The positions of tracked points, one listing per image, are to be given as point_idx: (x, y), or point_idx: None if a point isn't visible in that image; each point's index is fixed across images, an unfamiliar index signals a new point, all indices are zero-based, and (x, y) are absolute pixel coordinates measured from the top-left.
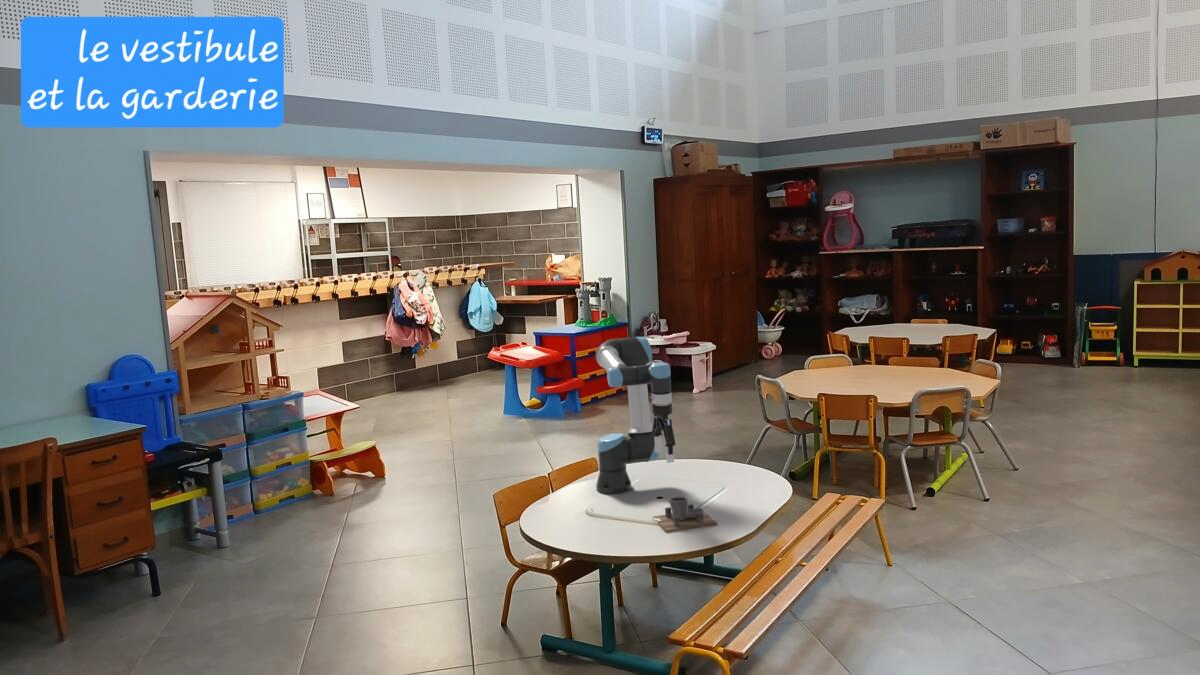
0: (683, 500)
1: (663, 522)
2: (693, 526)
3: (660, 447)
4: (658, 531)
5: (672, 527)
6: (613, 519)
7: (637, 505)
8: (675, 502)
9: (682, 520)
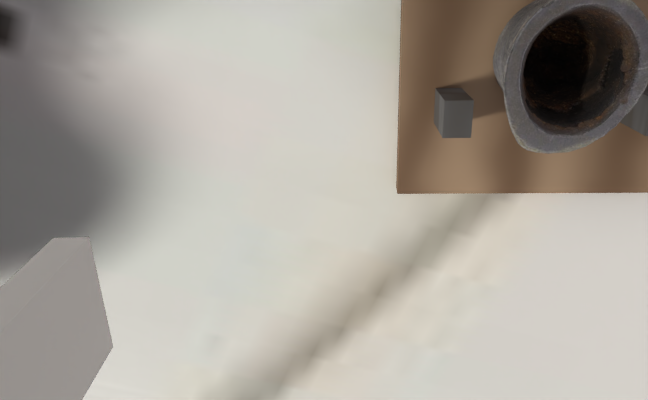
0: (644, 45)
1: (531, 166)
2: None
3: (51, 321)
4: (608, 216)
5: (646, 142)
6: (310, 367)
7: (119, 201)
8: (618, 115)
9: None
